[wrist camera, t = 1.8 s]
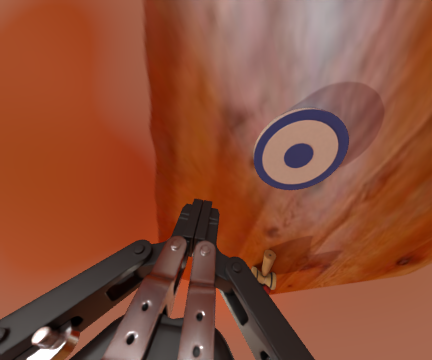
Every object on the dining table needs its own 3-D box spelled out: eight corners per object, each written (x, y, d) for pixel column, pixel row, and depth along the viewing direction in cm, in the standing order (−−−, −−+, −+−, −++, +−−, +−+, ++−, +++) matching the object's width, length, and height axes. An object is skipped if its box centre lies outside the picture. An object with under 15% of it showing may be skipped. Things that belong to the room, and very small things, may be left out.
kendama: (251, 244, 44) (244, 281, 52) (258, 265, 38) (249, 303, 46) (277, 242, 45) (267, 280, 53) (288, 263, 39) (274, 301, 47)
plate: (365, 116, 22) (372, 119, 21) (315, 191, 30) (318, 196, 29) (268, 99, 22) (270, 101, 21) (244, 178, 30) (244, 183, 29)
